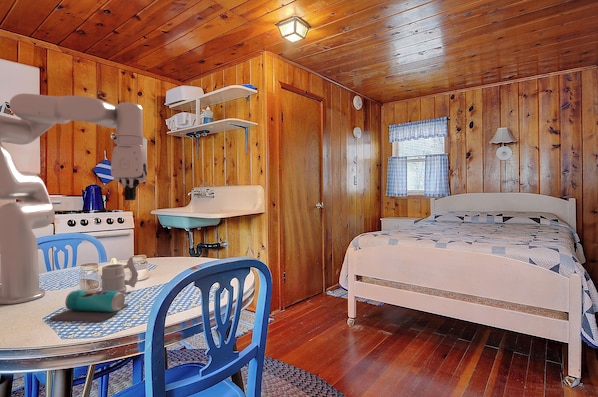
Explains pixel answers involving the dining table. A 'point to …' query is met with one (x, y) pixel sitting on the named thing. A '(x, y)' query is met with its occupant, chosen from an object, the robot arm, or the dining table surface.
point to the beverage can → (95, 300)
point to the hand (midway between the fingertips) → (130, 199)
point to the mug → (118, 277)
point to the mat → (84, 315)
